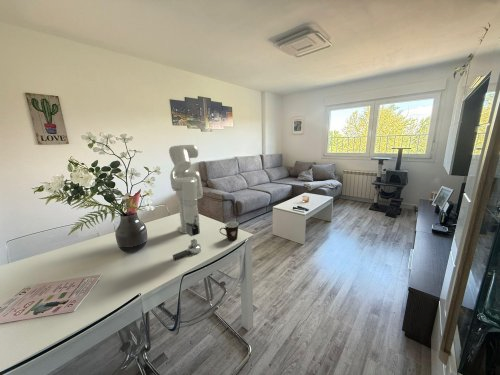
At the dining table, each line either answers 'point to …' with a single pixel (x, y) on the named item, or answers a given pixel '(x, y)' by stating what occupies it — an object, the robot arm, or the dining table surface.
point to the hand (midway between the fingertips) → (193, 232)
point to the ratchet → (189, 250)
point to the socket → (189, 229)
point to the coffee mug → (231, 230)
